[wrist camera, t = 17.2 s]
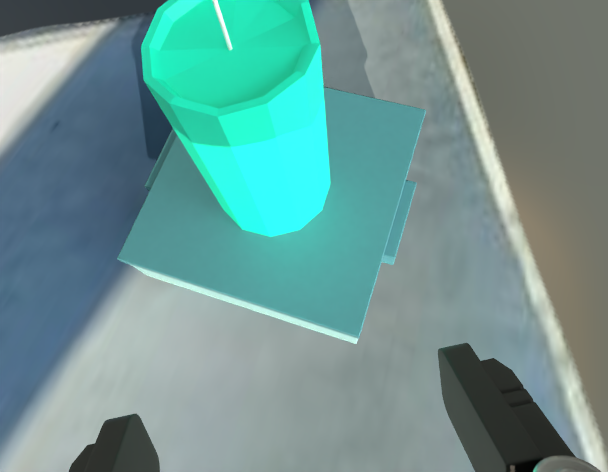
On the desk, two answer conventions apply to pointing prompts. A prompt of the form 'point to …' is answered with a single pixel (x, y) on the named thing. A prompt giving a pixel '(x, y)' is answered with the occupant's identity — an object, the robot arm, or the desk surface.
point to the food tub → (298, 244)
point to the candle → (245, 104)
